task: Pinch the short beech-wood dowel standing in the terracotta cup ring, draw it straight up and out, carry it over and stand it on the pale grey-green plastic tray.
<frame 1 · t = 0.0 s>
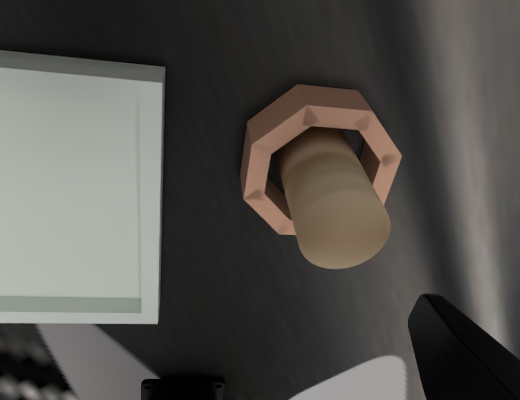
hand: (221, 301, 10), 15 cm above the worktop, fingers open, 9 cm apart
cup ring: (312, 153, 25), on the worktop
tray: (30, 197, 25), on the worktop
dowel: (326, 188, 22), in the cup ring
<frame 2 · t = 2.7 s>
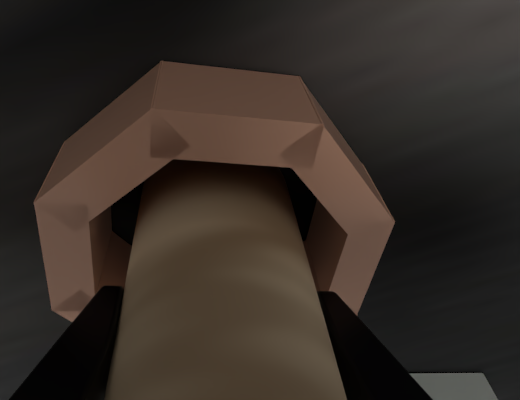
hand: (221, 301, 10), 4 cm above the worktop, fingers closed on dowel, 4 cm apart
cup ring: (216, 203, 12), on the worktop
dowel: (221, 299, 10), in the cup ring, touching gripper
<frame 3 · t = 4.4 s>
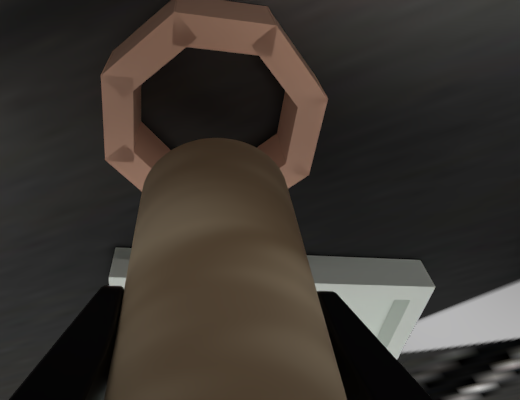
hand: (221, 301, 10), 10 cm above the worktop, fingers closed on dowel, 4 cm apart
cup ring: (213, 101, 18), on the worktop
tray: (257, 340, 27), on the worktop
dowel: (221, 298, 10), point 10 cm above the worktop, touching gripper
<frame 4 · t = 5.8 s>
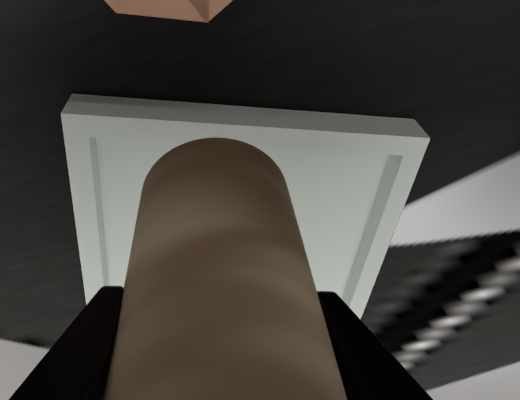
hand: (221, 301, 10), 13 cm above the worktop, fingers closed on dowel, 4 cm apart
tray: (238, 224, 25), on the worktop
dowel: (220, 298, 10), point 13 cm above the worktop, touching gripper
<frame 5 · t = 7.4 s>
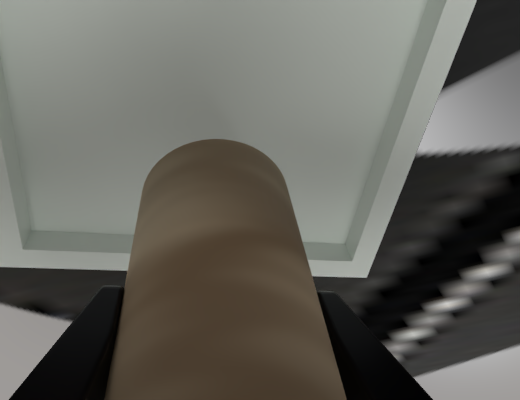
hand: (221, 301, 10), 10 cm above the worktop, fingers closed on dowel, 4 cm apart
tray: (208, 106, 18), on the worktop
dowel: (221, 300, 10), point 10 cm above the worktop, touching gripper
when the fingers open (6 cm above the worktop, at t = 9.0 s): dowel drops 1 cm, resting on tray.
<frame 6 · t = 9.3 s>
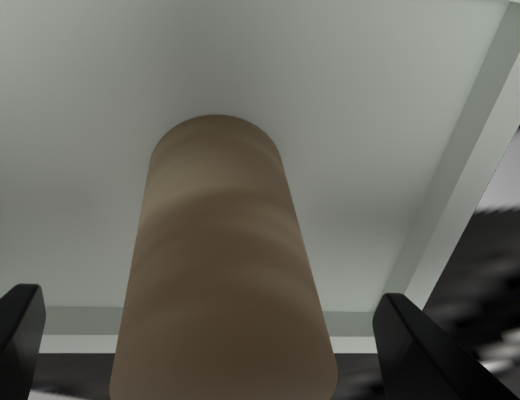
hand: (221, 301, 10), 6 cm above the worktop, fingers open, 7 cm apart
tray: (213, 161, 14), on the worktop
dowel: (220, 255, 11), in the tray, point 4 cm above the worktop
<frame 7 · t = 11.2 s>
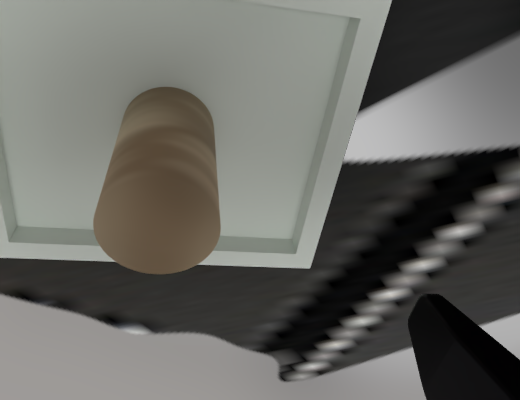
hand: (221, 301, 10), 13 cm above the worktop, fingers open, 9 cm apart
tray: (167, 121, 21), on the worktop
dowel: (164, 171, 17), in the tray, point 4 cm above the worktop
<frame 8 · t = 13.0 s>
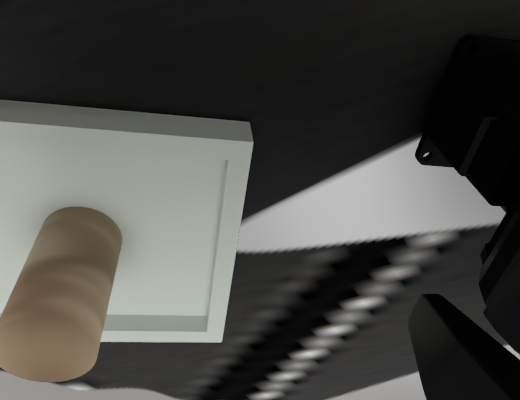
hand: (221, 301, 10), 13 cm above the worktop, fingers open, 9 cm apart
tray: (83, 227, 24), on the worktop
dowel: (65, 287, 21), in the tray, point 4 cm above the worktop
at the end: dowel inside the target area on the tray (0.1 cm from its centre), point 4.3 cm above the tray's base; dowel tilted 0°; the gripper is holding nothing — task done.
